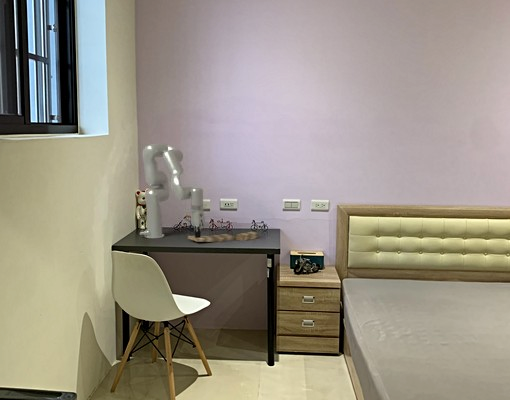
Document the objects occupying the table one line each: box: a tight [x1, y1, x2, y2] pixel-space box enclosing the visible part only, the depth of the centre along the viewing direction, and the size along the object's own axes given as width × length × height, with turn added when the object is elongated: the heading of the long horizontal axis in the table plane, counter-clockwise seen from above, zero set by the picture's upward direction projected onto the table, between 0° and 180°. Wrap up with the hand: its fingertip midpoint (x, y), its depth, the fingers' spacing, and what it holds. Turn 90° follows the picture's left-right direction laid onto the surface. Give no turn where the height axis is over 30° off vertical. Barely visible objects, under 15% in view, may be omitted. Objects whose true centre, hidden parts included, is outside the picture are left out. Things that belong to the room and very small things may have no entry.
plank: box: [187, 235, 218, 243], centre depth 357 cm, size 14×12×2 cm
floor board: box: [208, 233, 237, 243], centre depth 365 cm, size 14×12×2 cm
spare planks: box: [235, 231, 259, 242], centre depth 367 cm, size 15×7×3 cm, turn 134°
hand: (197, 237), depth 354 cm, fingers closed
